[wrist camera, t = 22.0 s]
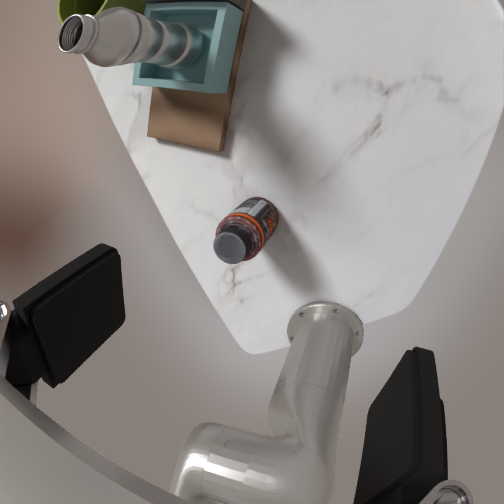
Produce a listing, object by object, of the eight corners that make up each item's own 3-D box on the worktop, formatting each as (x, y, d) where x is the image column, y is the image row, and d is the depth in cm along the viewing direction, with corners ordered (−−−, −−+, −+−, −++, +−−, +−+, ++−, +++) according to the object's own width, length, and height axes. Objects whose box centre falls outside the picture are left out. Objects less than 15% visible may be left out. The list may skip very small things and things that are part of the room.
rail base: (223, 150, 43) (193, 161, 36) (152, 135, 46) (116, 144, 38) (251, 0, 32) (226, -19, 25) (174, -1, 34) (139, -14, 27)
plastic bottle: (216, 56, 35) (105, 39, 18) (173, 78, 38) (56, 82, 21) (200, 17, 33) (88, -16, 16) (159, 40, 36) (43, 29, 19)
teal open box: (226, 93, 38) (209, 93, 34) (153, 84, 40) (132, 84, 36) (243, 11, 32) (227, 2, 28) (166, 10, 34) (145, 4, 30)
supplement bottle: (280, 236, 46) (256, 275, 37) (241, 233, 48) (209, 270, 39) (278, 195, 44) (251, 225, 34) (237, 195, 46) (201, 224, 36)
